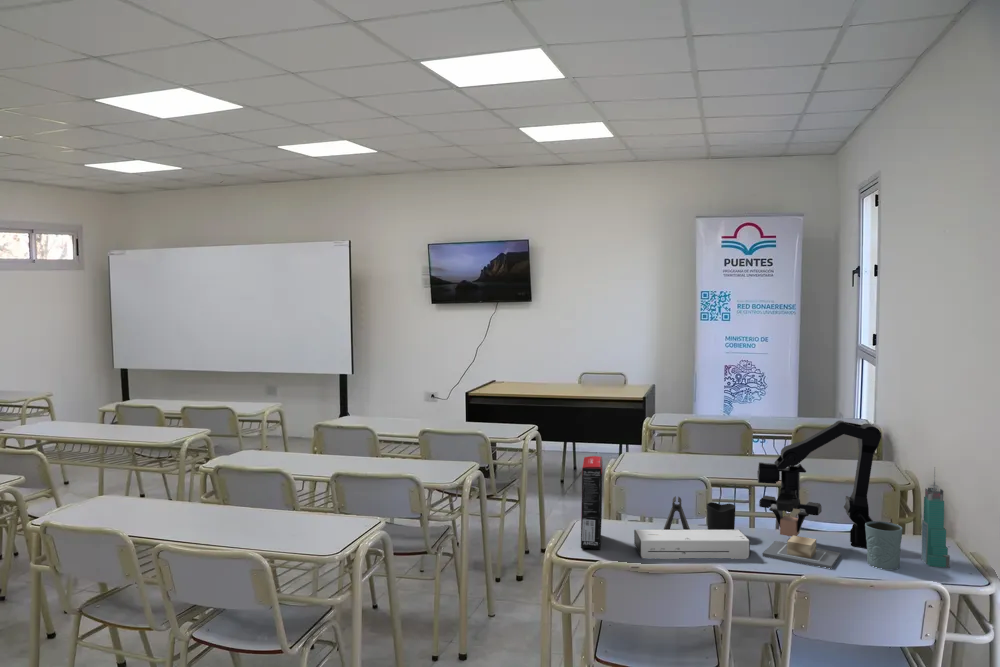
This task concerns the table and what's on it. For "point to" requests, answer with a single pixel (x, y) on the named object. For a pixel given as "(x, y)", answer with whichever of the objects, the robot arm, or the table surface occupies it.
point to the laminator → (692, 544)
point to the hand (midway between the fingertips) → (789, 530)
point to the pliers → (679, 508)
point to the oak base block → (801, 546)
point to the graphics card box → (591, 502)
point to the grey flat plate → (818, 559)
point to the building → (934, 529)
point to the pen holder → (720, 516)
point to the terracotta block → (788, 526)
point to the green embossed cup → (883, 544)
